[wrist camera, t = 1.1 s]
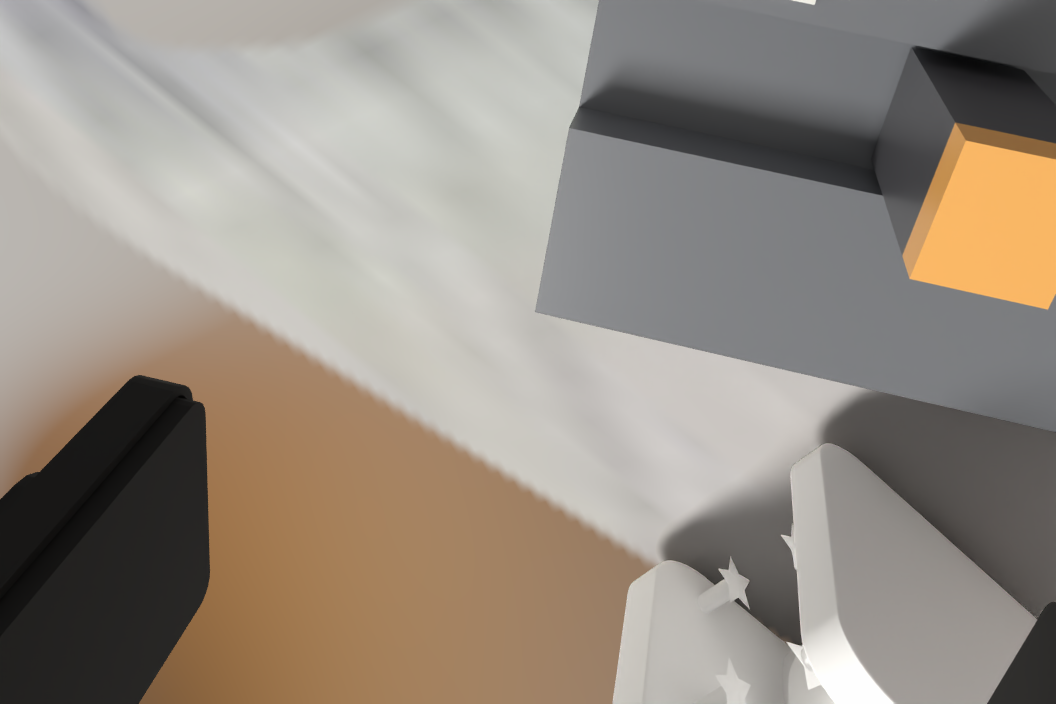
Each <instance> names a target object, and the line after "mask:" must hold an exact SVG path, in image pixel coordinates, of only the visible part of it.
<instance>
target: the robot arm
mask: <svg viewBox="0 0 1056 704" xmlns="http://www.w3.org/2000/svg"><path fill="white" fill-rule="evenodd" d="M207 489H208V488H207V452H206V417H205V408H204V406H203V404H202V403H200V402H196V401H193V398H192V393H191V391H190V389H189V388H188V387H187V386H185V385H181V384H176V383H172V382H168V381H163V380H159V379H155V378H150V377H146V376H142V375H138V376H134V377H133V378H131V379H130V380H129V381H128V382H127V383H126V384H125V385H124V386H123V387H122V388H121V389H120V390H119V391H118V392H117V393H116V394H115V395H114V396H113V397H112V398H111V399H110V400H109V401H108V402H107V403H106V404H105V405H104V406H103V407H102V408H101V409H100V411H98V413H96V415H95V416H94V417H93V418H92V419H91V420H90V421H89V422H88V423H87V424H86V425H85V426H84V427H83V428H82V429H81V430H80V431H79V432H78V433H77V434H76V435H75V436H74V437H73V438H72V439H71V440H70V441H69V442H68V443H67V444H66V445H65V447H64V448H63V449H62V450H61V451H60V452H59V453H58V454H57V455H56V456H55V457H54V458H53V459H52V460H51V461H50V462H49V463H48V464H47V465H46V466H45V467H44V468H43V469H42V470H41V471H40V472H36V473H33V474H30V475H27V476H25V477H24V478H23V479H22V480H20V481H19V482H18V483H17V484H15V485H14V486H13V487H12V488H11V489H10V490H9V491H8V493H6V494H5V495H4V496H3V498H1V499H0V704H139V702H140V700H141V699H142V697H143V696H144V694H145V693H146V691H147V689H148V688H149V686H150V685H151V683H152V681H153V680H154V678H155V677H156V675H157V673H158V672H159V670H160V669H161V667H162V666H163V664H164V662H165V661H166V659H167V658H168V656H169V654H170V653H171V651H172V650H173V648H174V647H175V645H176V643H177V642H178V640H179V639H180V637H181V635H182V634H183V632H184V630H185V629H186V627H187V626H188V624H189V623H190V621H191V620H192V618H193V616H194V615H195V613H196V612H197V610H198V608H199V607H200V605H201V603H202V601H203V599H204V596H205V594H206V590H207V587H208V582H209V577H210V564H209V563H210V562H209V525H208V490H207ZM987 704H1056V602H1051V603H1050V604H1048V605H1047V606H1046V607H1045V609H1044V610H1043V611H1042V613H1041V615H1040V616H1039V618H1038V620H1037V621H1036V623H1035V625H1034V626H1033V628H1032V630H1031V631H1030V633H1029V635H1028V636H1027V638H1026V640H1025V641H1024V643H1023V645H1022V646H1021V648H1020V650H1019V651H1018V653H1017V655H1016V656H1015V658H1014V660H1013V661H1012V663H1011V665H1010V666H1009V668H1008V670H1007V671H1006V673H1005V675H1004V676H1003V678H1002V679H1001V681H1000V683H999V684H998V686H997V688H996V689H995V691H994V693H993V694H992V696H991V698H990V699H989V701H988V703H987Z"/></svg>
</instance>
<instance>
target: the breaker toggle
mask: <svg viewBox="0 0 1056 704" xmlns="http://www.w3.org/2000/svg"><path fill="white" fill-rule="evenodd" d="M871 160H872V163H873V167H874V170H875V173H876V176H877V179H878V182H879V185H880V188H881V191H882V195H883V198H884V201H885V204H886V207H887V210H888V213H889V216H890V220H891V223H892V226H893V229H894V232H895V235H896V238H897V241H898V244H899V248H900V251H901V254H902V257H903V260H904V263H905V266H906V269H907V272H908V276H909V279H912V280H917V281H921V282H926V283H930V284H935V285H939V286H944V287H948V288H953V289H957V290H962V291H966V292H971V293H975V294H980V295H984V296H989V297H993V298H998V299H1002V300H1007V301H1011V302H1016V303H1020V304H1025V305H1029V306H1034V307H1039V308H1043V309H1048V308H1049V306H1050V304H1051V302H1052V300H1053V298H1054V296H1055V294H1056V105H1055V104H1054V103H1053V102H1052V101H1051V100H1050V98H1049V97H1048V96H1047V95H1046V94H1045V93H1044V92H1043V91H1042V90H1041V88H1040V87H1039V86H1038V85H1037V84H1036V83H1035V82H1034V81H1033V80H1032V79H1031V77H1030V76H1029V75H1028V74H1027V73H1026V72H1025V71H1024V70H1021V69H1016V68H1011V67H1006V66H1001V65H997V64H992V63H987V62H982V61H977V60H972V59H967V58H962V57H958V56H953V55H948V54H943V53H938V52H933V51H928V50H923V49H918V48H914V47H911V49H910V51H909V54H908V57H907V60H906V63H905V65H904V68H903V71H902V74H901V77H900V79H899V82H898V85H897V88H896V91H895V93H894V96H893V99H892V102H891V104H890V107H889V110H888V113H887V116H886V118H885V121H884V124H883V127H882V130H881V132H880V135H879V138H878V141H877V144H876V146H875V149H874V152H873V155H872V158H871Z"/></svg>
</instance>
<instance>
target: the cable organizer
mask: <svg viewBox="0 0 1056 704" xmlns="http://www.w3.org/2000/svg"><path fill="white" fill-rule="evenodd" d="M790 476H791V491H792V506H793V521H794V526H793V524H792V529H791V537H790V536H785V535H781V536H782V537H783V539H784V540H785V542H786V543H787V545H788V546H789V548H790V549H791V551H792V554H793V561H794V567H795V569H797V581H798V597H799V612H800V627H801V637H802V643H803V645H801V646H799V645H796V644H792V643H789V642H787V644H788V645H789V646H788V645H787V644H786V643H785V642H784V641H782V640H781V639H780V638H779V637H777V636H776V635H775V634H774V633H773V632H771V631H770V630H769V629H768V628H766V627H765V626H764V625H763V624H762V623H760V622H759V621H758V620H757V619H756V618H754V617H753V616H752V615H751V614H749V613H748V612H747V611H746V610H745V609H743V608H742V607H741V606H740V605H738V604H737V603H736V602H735V601H734V600H735V599H737V598H739V599H740V600H741V601H742V602H743V603H744V604H745V605H746V606H747V607H748V608H749V604H748V601H747V597H746V594H745V589H746V587H747V585H748V583H749V581H750V580H748V579H747V578H745V577H743V576H742V575H740V574H738V571H737V569H736V567H735V564H734V562H733V560H732V558H731V556H730V563H729V570H726V569H719V568H718V569H719V571H720V572H721V574H722V576H723V577H724V579H723V580H722V581H720V582H719V583H717V584H716V585H714V584H713V583H712V582H710V581H709V580H708V579H707V578H706V577H704V576H703V575H702V574H700V573H699V572H698V571H696V570H695V569H693V568H691V567H689V566H688V565H685V564H683V563H681V562H677V561H673V560H667V561H663V562H661V563H660V564H658V565H657V566H655V567H654V568H652V569H651V570H649V571H648V572H647V573H645V574H644V575H642V576H641V577H639V578H638V579H637V580H635V581H634V582H632V584H631V585H630V587H629V591H628V596H627V604H626V611H625V618H624V625H623V632H622V640H621V647H620V654H619V662H618V668H617V676H616V683H615V690H614V697H613V704H987V703H988V701H989V699H990V698H991V696H992V694H993V693H994V691H995V689H996V688H997V686H998V684H999V683H1000V681H1001V679H1002V678H1003V676H1004V675H1005V673H1006V671H1007V670H1008V668H1009V666H1010V665H1011V663H1012V661H1013V660H1014V658H1015V656H1016V655H1017V653H1018V651H1019V650H1020V648H1021V646H1022V645H1023V643H1024V641H1025V640H1026V638H1027V636H1028V635H1029V633H1030V631H1031V630H1032V628H1033V626H1034V625H1035V623H1036V621H1037V619H1036V618H1035V617H1034V616H1033V615H1032V614H1031V613H1029V612H1028V611H1027V610H1026V609H1025V608H1024V607H1023V606H1022V605H1021V604H1019V603H1018V602H1017V601H1016V600H1015V599H1014V598H1013V597H1012V596H1011V595H1009V594H1008V593H1007V592H1006V591H1005V590H1004V589H1003V588H1002V587H1001V586H999V585H998V584H997V583H996V582H995V581H994V580H993V579H992V578H990V577H989V576H988V575H987V574H986V573H985V572H984V571H983V570H982V569H980V568H979V567H978V566H977V565H976V564H975V563H974V562H973V561H972V560H970V559H969V558H968V557H967V556H966V555H965V554H964V553H963V552H962V551H960V550H959V549H958V548H957V547H956V546H955V545H954V544H953V543H951V542H950V541H949V540H948V539H947V538H946V537H945V536H944V535H943V534H941V533H940V532H939V531H938V530H937V529H936V528H935V527H934V526H933V525H931V524H930V523H929V522H928V521H927V520H926V519H925V518H924V517H922V516H921V515H920V514H919V513H918V512H917V511H916V510H915V509H914V508H912V507H911V506H910V505H909V504H908V503H907V502H906V501H905V500H904V499H902V498H901V497H900V496H899V495H898V494H897V493H896V492H895V491H894V490H892V489H891V488H890V487H889V486H888V485H887V484H886V483H885V482H883V481H882V480H881V479H880V478H879V477H878V476H877V475H876V474H875V473H873V472H872V471H871V470H870V469H869V468H868V467H867V466H866V465H865V464H863V463H862V462H861V461H860V460H859V459H857V458H856V457H855V456H854V455H852V454H851V453H850V452H848V451H846V450H845V449H843V448H841V447H839V446H837V445H834V444H830V443H825V444H822V445H821V446H819V447H818V448H817V449H815V450H814V451H812V452H811V453H809V454H808V455H807V456H805V457H804V458H802V459H801V460H799V461H798V462H797V463H795V464H794V465H793V466H792V468H791V473H790ZM749 609H750V608H749Z"/></svg>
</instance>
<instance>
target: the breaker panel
mask: <svg viewBox="0 0 1056 704" xmlns="http://www.w3.org/2000/svg"><path fill="white" fill-rule="evenodd" d="M911 47H914V48H918V49H923V50H928V51H933V52H938V53H943V54H948V55H953V56H958V57H962V58H967V59H972V60H977V61H982V62H987V63H992V64H997V65H1001V66H1006V67H1011V68H1016V69H1021V70H1024V71H1025V72H1026V73H1027V74H1028V75H1029V76H1030V77H1031V79H1032V80H1033V81H1034V82H1035V83H1036V84H1037V85H1038V86H1039V87H1040V88H1041V90H1042V91H1043V92H1044V93H1045V94H1046V95H1047V96H1048V97H1049V98H1050V100H1051V101H1052V102H1053V103H1054V104H1055V105H1056V0H599V4H598V10H597V15H596V20H595V26H594V31H593V36H592V42H591V47H590V52H589V57H588V63H587V68H586V73H585V79H584V84H583V89H582V95H581V100H580V105H579V108H578V110H577V113H576V115H575V117H574V119H573V121H572V123H571V125H570V127H569V132H568V137H567V143H566V148H565V153H564V159H563V164H562V170H561V175H560V180H559V186H558V191H557V197H556V202H555V207H554V213H553V218H552V224H551V229H550V234H549V240H548V245H547V251H546V256H545V261H544V267H543V272H542V277H541V283H540V288H539V294H538V299H537V304H536V310H535V312H537V313H541V314H545V315H550V316H554V317H558V318H563V319H567V320H571V321H576V322H580V323H584V324H589V325H593V326H597V327H602V328H606V329H610V330H615V331H619V332H623V333H628V334H632V335H636V336H641V337H645V338H649V339H654V340H658V341H662V342H667V343H671V344H675V345H680V346H684V347H688V348H693V349H697V350H701V351H706V352H710V353H714V354H719V355H723V356H727V357H732V358H736V359H740V360H745V361H749V362H753V363H758V364H762V365H766V366H771V367H775V368H779V369H784V370H788V371H792V372H797V373H801V374H805V375H810V376H814V377H818V378H823V379H827V380H831V381H836V382H840V383H844V384H849V385H853V386H857V387H862V388H866V389H870V390H875V391H879V392H883V393H888V394H892V395H896V396H901V397H905V398H909V399H914V400H918V401H922V402H927V403H931V404H935V405H940V406H944V407H948V408H953V409H957V410H961V411H966V412H970V413H974V414H979V415H983V416H987V417H992V418H996V419H1000V420H1005V421H1009V422H1013V423H1018V424H1022V425H1026V426H1031V427H1035V428H1039V429H1044V430H1048V431H1052V432H1056V294H1055V296H1054V298H1053V300H1052V302H1051V304H1050V306H1049V308H1048V309H1043V308H1039V307H1034V306H1029V305H1025V304H1020V303H1016V302H1011V301H1007V300H1002V299H998V298H993V297H989V296H984V295H980V294H975V293H971V292H966V291H962V290H957V289H953V288H948V287H944V286H939V285H935V284H930V283H926V282H921V281H917V280H912V279H909V276H908V272H907V269H906V266H905V263H904V260H903V257H902V254H901V251H900V248H899V244H898V241H897V238H896V235H895V232H894V229H893V226H892V223H891V220H890V216H889V213H888V210H887V207H886V204H885V201H884V198H883V195H882V191H881V188H880V185H879V182H878V179H877V176H876V173H875V170H874V167H873V163H872V160H871V158H872V155H873V152H874V149H875V146H876V144H877V141H878V138H879V135H880V132H881V130H882V127H883V124H884V121H885V118H886V116H887V113H888V110H889V107H890V104H891V102H892V99H893V96H894V93H895V91H896V88H897V85H898V82H899V79H900V77H901V74H902V71H903V68H904V65H905V63H906V60H907V57H908V54H909V51H910V49H911Z"/></svg>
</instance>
